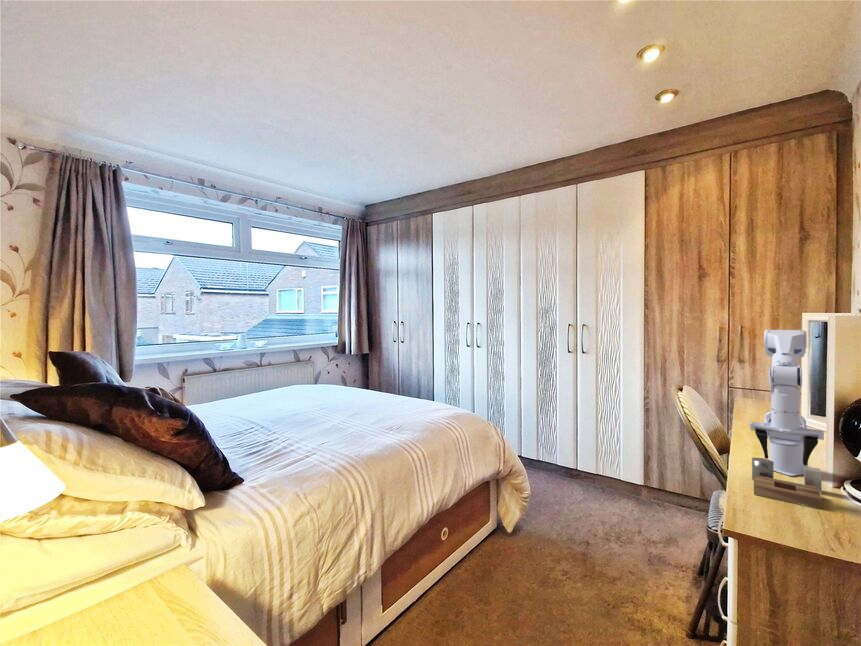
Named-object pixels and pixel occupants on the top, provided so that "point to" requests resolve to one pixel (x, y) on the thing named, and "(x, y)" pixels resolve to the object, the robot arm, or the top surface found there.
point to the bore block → (787, 491)
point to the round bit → (762, 468)
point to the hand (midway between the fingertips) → (785, 460)
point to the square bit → (813, 477)
